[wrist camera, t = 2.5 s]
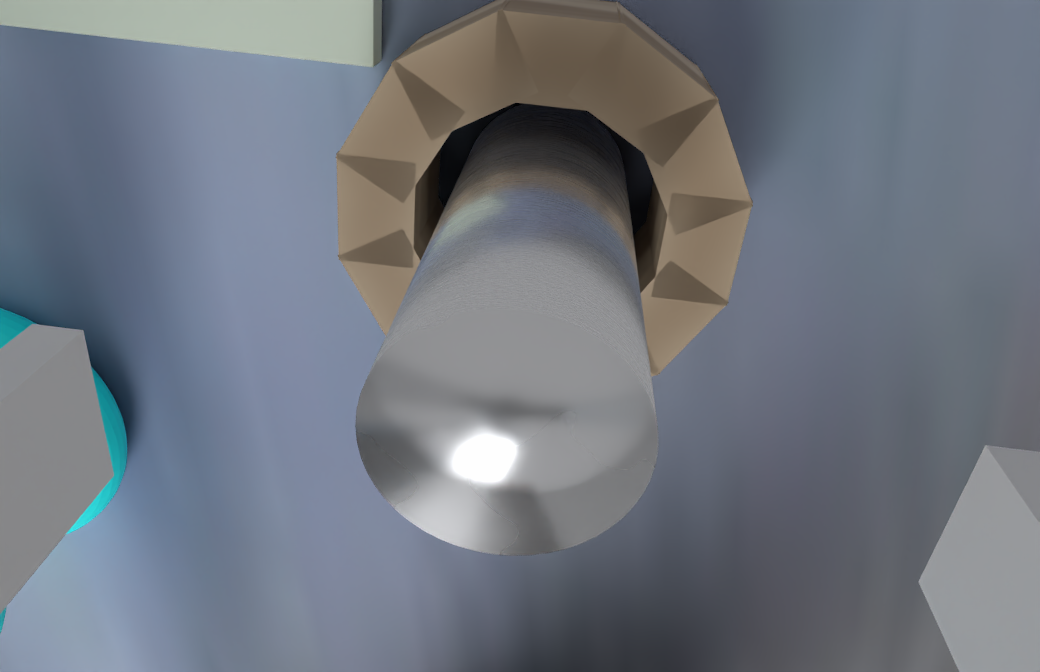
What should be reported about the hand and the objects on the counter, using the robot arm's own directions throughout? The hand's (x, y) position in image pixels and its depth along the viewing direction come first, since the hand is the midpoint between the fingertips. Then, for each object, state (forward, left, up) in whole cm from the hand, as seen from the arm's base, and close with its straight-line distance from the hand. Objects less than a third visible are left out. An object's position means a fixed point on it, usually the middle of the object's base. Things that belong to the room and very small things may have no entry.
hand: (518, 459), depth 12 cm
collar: (0, 0, -14) cm, 14 cm away
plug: (0, 0, -14) cm, 14 cm away
